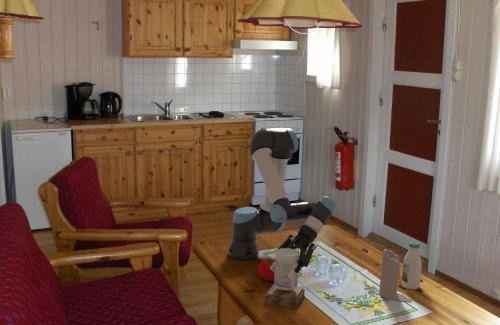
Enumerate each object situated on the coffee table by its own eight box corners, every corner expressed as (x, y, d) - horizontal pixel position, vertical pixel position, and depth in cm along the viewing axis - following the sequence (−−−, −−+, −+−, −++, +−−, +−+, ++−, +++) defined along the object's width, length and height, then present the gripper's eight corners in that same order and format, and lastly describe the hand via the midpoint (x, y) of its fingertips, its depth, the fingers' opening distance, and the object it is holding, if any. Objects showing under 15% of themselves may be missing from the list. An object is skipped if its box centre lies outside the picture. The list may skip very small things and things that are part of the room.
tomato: (261, 285, 232) (262, 266, 231) (254, 275, 243) (255, 256, 241) (284, 283, 235) (285, 264, 234) (276, 273, 246) (277, 255, 244)
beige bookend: (409, 304, 219) (414, 257, 215) (376, 295, 226) (380, 250, 223) (414, 298, 225) (419, 252, 222) (382, 289, 232) (386, 245, 229)
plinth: (264, 302, 215) (265, 293, 215) (274, 290, 227) (274, 281, 227) (296, 309, 211) (296, 299, 210) (304, 295, 223) (304, 286, 222)
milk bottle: (419, 284, 240) (424, 241, 236) (418, 291, 232) (423, 247, 229) (401, 281, 242) (405, 239, 238) (400, 288, 235) (404, 244, 231)
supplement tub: (286, 279, 225) (288, 246, 222) (302, 287, 218) (304, 253, 215) (268, 285, 219) (270, 250, 216) (284, 293, 212) (286, 257, 209)
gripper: (334, 241, 216) (304, 288, 209) (295, 227, 233) (266, 270, 226) (326, 231, 212) (295, 278, 205) (287, 217, 228) (257, 261, 221)
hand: (280, 274), depth 215 cm, fingers closed on supplement tub, 9 cm apart
